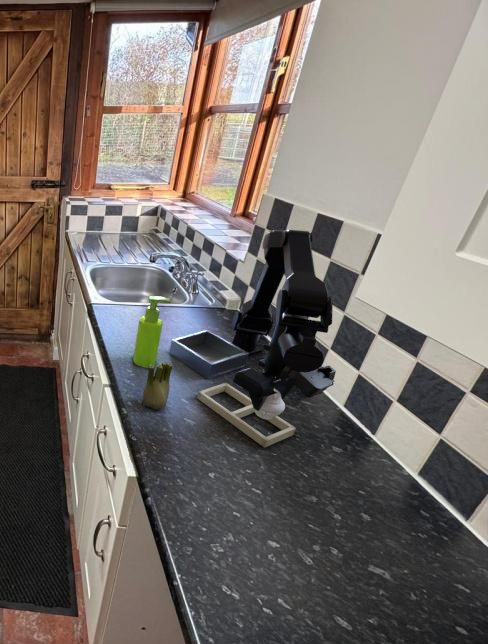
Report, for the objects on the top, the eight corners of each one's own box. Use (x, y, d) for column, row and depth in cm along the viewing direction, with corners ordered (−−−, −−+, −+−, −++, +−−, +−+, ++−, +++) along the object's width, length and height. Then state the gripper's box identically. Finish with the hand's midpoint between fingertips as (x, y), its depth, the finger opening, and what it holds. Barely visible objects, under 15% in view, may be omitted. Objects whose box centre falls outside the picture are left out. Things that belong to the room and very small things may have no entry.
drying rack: (223, 388, 102) (225, 382, 102) (293, 435, 88) (296, 428, 87) (197, 398, 99) (198, 391, 99) (264, 447, 85) (267, 440, 84)
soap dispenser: (160, 369, 111) (173, 303, 102) (134, 366, 112) (144, 301, 103) (157, 357, 116) (168, 294, 107) (131, 354, 117) (141, 292, 109)
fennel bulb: (141, 409, 96) (148, 367, 91) (140, 396, 100) (148, 355, 95) (167, 414, 95) (176, 371, 89) (165, 400, 99) (174, 359, 94)
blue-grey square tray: (203, 343, 122) (207, 329, 120) (244, 367, 111) (249, 352, 109) (169, 353, 118) (171, 339, 116) (208, 379, 106) (211, 364, 104)
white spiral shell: (287, 419, 87) (296, 393, 84) (267, 428, 85) (277, 401, 82) (259, 402, 92) (268, 377, 89) (240, 409, 90) (248, 384, 87)
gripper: (297, 378, 71) (272, 444, 78) (363, 354, 77) (334, 417, 84) (240, 346, 80) (222, 408, 87) (302, 327, 87) (281, 386, 93)
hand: (266, 405), depth 87 cm, fingers closed on white spiral shell, 6 cm apart
